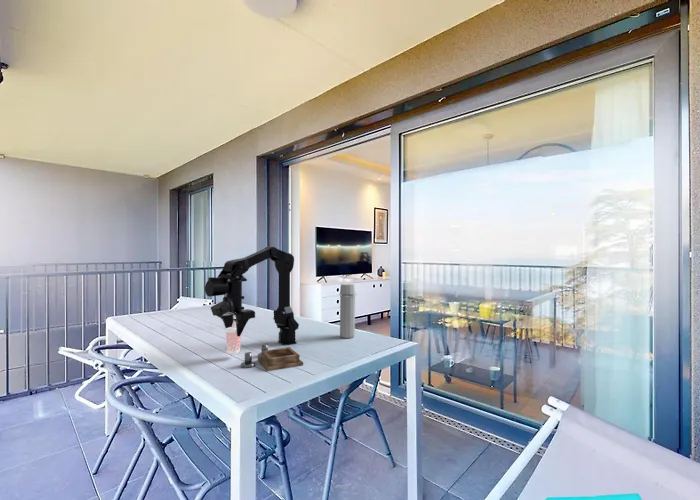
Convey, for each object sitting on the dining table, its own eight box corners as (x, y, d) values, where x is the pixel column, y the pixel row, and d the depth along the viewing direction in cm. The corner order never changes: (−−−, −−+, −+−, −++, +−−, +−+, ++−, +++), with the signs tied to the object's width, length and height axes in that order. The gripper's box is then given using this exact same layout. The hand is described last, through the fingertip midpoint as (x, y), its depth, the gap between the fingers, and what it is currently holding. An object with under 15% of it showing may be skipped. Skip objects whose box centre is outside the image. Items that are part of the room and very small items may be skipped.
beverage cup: (228, 349, 131) (228, 313, 131) (244, 349, 131) (244, 313, 131) (222, 354, 125) (222, 316, 125) (238, 354, 125) (238, 317, 125)
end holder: (291, 355, 132) (291, 346, 132) (303, 365, 121) (303, 355, 121) (257, 360, 126) (257, 350, 126) (267, 371, 115) (267, 360, 115)
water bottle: (340, 334, 165) (340, 283, 165) (356, 335, 164) (356, 283, 164) (337, 339, 156) (337, 285, 156) (354, 340, 155) (354, 285, 155)
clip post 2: (269, 353, 134) (269, 342, 134) (272, 356, 130) (272, 345, 130) (256, 355, 132) (256, 343, 132) (259, 358, 127) (259, 347, 127)
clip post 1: (253, 362, 123) (253, 350, 123) (257, 366, 119) (257, 354, 119) (239, 364, 121) (239, 352, 121) (242, 369, 116) (242, 356, 116)
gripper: (200, 293, 127) (200, 335, 127) (229, 298, 116) (229, 343, 116) (226, 291, 136) (226, 329, 136) (256, 295, 125) (255, 337, 125)
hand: (233, 334), depth 128 cm, fingers closed on beverage cup, 6 cm apart
